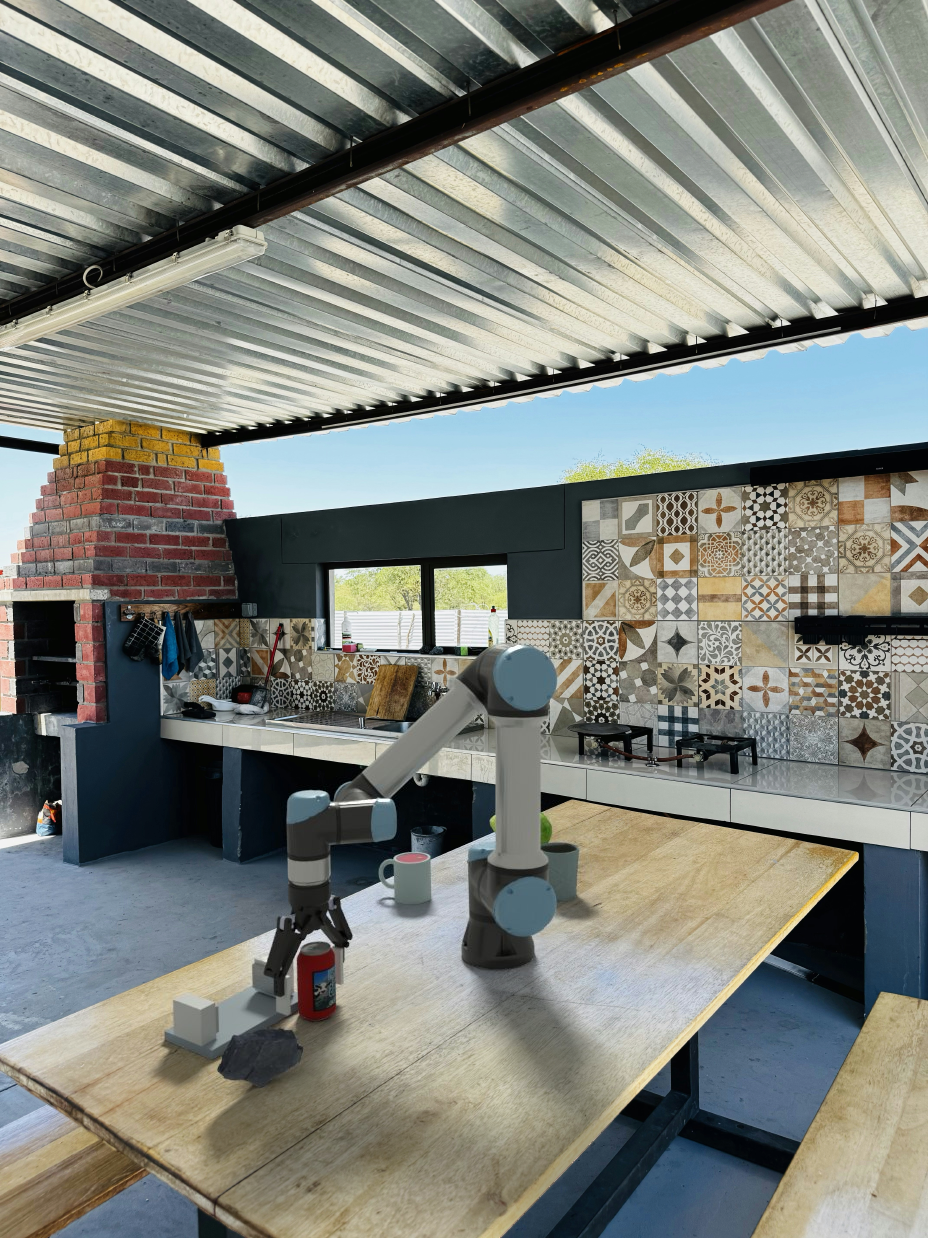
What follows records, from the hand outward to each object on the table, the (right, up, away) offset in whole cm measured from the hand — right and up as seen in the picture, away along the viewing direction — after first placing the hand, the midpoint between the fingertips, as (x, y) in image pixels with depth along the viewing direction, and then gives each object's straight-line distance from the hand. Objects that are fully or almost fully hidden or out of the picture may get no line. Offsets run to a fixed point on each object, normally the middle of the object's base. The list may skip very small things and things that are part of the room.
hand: (311, 997), depth 150 cm
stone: (-3, -3, -23) cm, 23 cm away
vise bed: (-12, -3, -2) cm, 13 cm away
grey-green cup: (+51, -1, +58) cm, 77 cm away
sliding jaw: (-8, -1, +4) cm, 9 cm away
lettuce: (+44, -1, +94) cm, 104 cm away
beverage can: (+1, -3, -1) cm, 3 cm away
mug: (+13, -2, +59) cm, 60 cm away
